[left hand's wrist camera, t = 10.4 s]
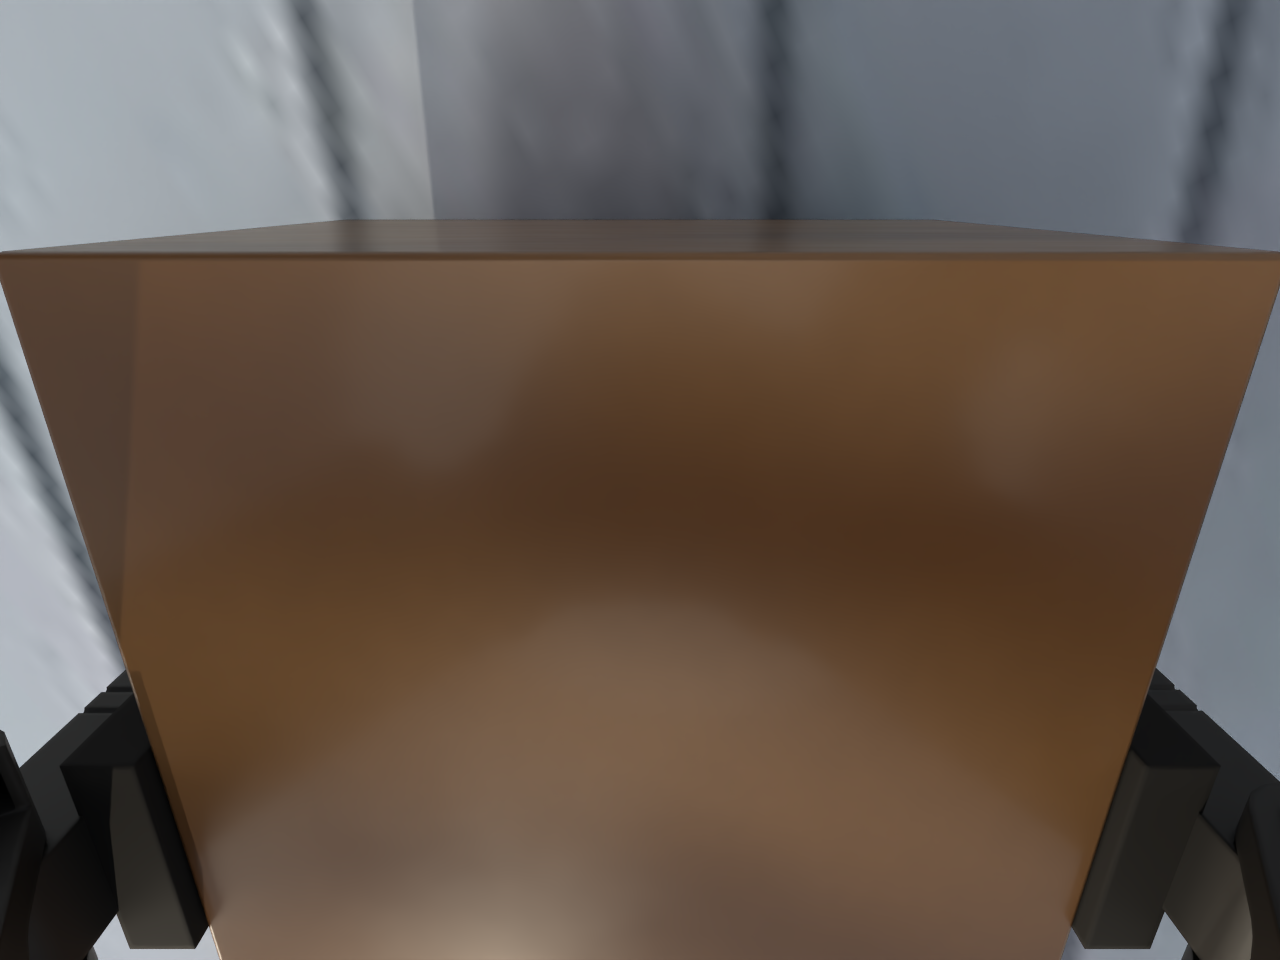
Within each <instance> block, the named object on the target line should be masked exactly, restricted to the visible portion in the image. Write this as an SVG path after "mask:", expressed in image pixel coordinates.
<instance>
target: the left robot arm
mask: <svg viewBox="0 0 1280 960" xmlns="http://www.w3.org/2000/svg"><path fill="white" fill-rule="evenodd" d="M1196 707H1197V705H1196V704H1195V703H1193V702H1192V701H1191V700H1190V699H1189V698H1188V697H1187V696H1186V695H1185V694H1184V693H1183V692H1182V691H1180V690H1175V688H1174V684H1173V683H1172V682H1171V681H1170V680H1168V679H1167V678H1166V677H1165V676H1164V675H1163V674H1162V673H1161V672H1160V671H1159V670H1158V669H1156V668H1155V671H1154V675H1153V678H1152V681H1151V684H1150V687H1149V690H1148V693H1147V696H1146V699H1145V702H1144V705H1143V708H1142V711H1141V715H1140V718H1139V721H1138V724H1137V727H1136V730H1135V733H1134V736H1133V739H1132V742H1131V745H1130V748H1129V751H1128V755H1127V758H1126V761H1125V764H1124V767H1123V770H1122V773H1121V776H1120V779H1119V782H1118V785H1117V788H1116V791H1115V795H1114V798H1113V801H1112V804H1111V807H1110V810H1109V813H1108V816H1107V819H1106V822H1105V825H1104V828H1103V831H1102V835H1101V838H1100V841H1099V844H1098V847H1097V850H1096V853H1095V856H1094V859H1093V862H1092V865H1091V868H1090V871H1089V875H1088V878H1087V881H1086V884H1085V887H1084V890H1083V893H1082V896H1081V899H1080V902H1079V905H1078V908H1077V911H1076V915H1075V918H1074V921H1073V924H1072V928H1073V930H1074V931H1075V933H1076V935H1077V936H1078V938H1079V940H1080V941H1081V943H1082V945H1083V947H1084V948H1085V949H1150V948H1151V945H1152V943H1153V940H1154V937H1155V935H1156V932H1157V930H1158V927H1159V924H1160V922H1161V919H1162V917H1163V914H1164V912H1166V914H1167V915H1168V916H1169V918H1170V919H1171V921H1172V922H1173V923H1174V925H1175V926H1176V927H1177V929H1178V930H1179V931H1180V933H1181V934H1182V936H1183V937H1184V938H1185V940H1186V941H1187V942H1188V945H1187V947H1186V950H1185V952H1184V955H1183V957H1182V959H1181V960H1280V782H1279V781H1278V780H1277V779H1276V778H1275V777H1274V776H1273V775H1272V774H1271V773H1270V772H1269V771H1267V770H1266V769H1265V768H1264V767H1263V766H1262V765H1261V764H1260V763H1259V762H1258V761H1257V760H1256V759H1254V758H1253V757H1252V756H1251V755H1250V754H1249V753H1248V752H1247V751H1246V750H1245V749H1244V748H1242V747H1241V746H1240V745H1239V744H1238V743H1237V742H1236V741H1235V740H1234V739H1233V738H1232V737H1230V736H1229V735H1228V734H1227V733H1226V732H1225V731H1224V730H1223V729H1222V728H1221V727H1220V726H1219V725H1217V724H1216V723H1215V722H1214V721H1213V720H1212V719H1211V718H1210V717H1209V716H1208V715H1207V714H1205V713H1204V712H1203V711H1198V710H1197V708H1196ZM84 709H85V710H84V713H78V714H77V715H76V716H75V717H74V718H73V719H72V720H71V721H70V722H69V723H68V724H67V725H65V726H64V727H63V728H62V729H61V730H60V731H59V732H58V733H57V734H56V735H55V736H54V737H52V738H51V739H50V740H49V741H48V742H47V743H46V744H45V745H44V746H43V747H42V748H41V749H40V750H38V751H37V752H36V753H35V754H34V755H33V756H32V757H31V758H30V759H29V760H28V761H27V762H25V763H24V764H23V765H22V766H21V767H20V768H19V767H18V764H17V762H16V759H15V757H14V754H13V752H12V750H11V747H10V745H9V742H8V740H7V738H6V735H5V733H4V732H3V731H1V730H0V960H98V957H97V955H96V952H95V950H94V947H93V945H94V944H95V943H96V941H97V940H98V938H99V937H100V936H101V934H102V933H103V932H104V930H105V929H106V927H107V926H108V925H109V923H110V922H111V921H112V919H113V918H114V916H115V915H116V914H117V916H118V919H119V921H120V924H121V927H122V929H123V932H124V934H125V937H126V940H127V942H128V945H129V947H130V949H195V948H196V947H197V945H198V943H199V942H200V940H201V938H202V937H203V935H204V933H205V931H206V930H207V928H208V926H209V924H208V921H207V918H206V915H205V912H204V909H203V906H202V903H201V900H200V897H199V893H198V890H197V887H196V884H195V881H194V878H193V875H192V872H191V869H190V866H189V863H188V859H187V856H186V853H185V850H184V847H183V844H182V841H181V838H180V835H179V832H178V829H177V825H176V822H175V819H174V816H173V813H172V810H171V807H170V804H169V801H168V798H167V795H166V791H165V788H164V785H163V782H162V779H161V776H160V773H159V770H158V767H157V764H156V761H155V757H154V754H153V751H152V748H151V745H150V742H149V739H148V736H147V733H146V730H145V727H144V724H143V720H142V717H141V714H140V711H139V708H138V705H137V702H136V699H135V696H134V693H133V690H132V686H131V683H130V680H129V677H128V674H127V671H126V670H125V671H124V672H123V673H122V674H121V675H120V676H118V677H117V678H116V679H115V680H114V681H113V682H112V683H111V684H110V685H109V686H108V687H107V691H106V692H101V693H100V694H99V695H98V696H97V697H96V698H95V699H94V700H92V701H91V702H90V703H89V704H88V705H87V706H86V707H85V708H84Z"/></svg>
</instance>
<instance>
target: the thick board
mask: <svg viewBox="0 0 1280 960" xmlns="http://www.w3.org/2000/svg"><path fill="white" fill-rule="evenodd" d="M0 282H1V285H2V288H3V291H4V294H5V297H6V300H7V303H8V306H9V309H10V313H11V316H12V319H13V322H14V325H15V328H16V331H17V334H18V337H19V340H20V343H21V347H22V350H23V353H24V356H25V359H26V362H27V365H28V368H29V371H30V374H31V377H32V381H33V384H34V387H35V390H36V393H37V396H38V399H39V402H40V405H41V408H42V411H43V415H44V418H45V421H46V424H47V427H48V430H49V433H50V436H51V439H52V442H53V445H54V449H55V452H56V455H57V458H58V461H59V464H60V467H61V470H62V473H63V476H64V479H65V483H66V486H67V489H68V492H69V495H70V498H71V501H72V504H73V507H74V510H75V513H76V516H77V520H78V523H79V526H80V529H81V532H82V535H83V538H84V541H85V544H86V547H87V550H88V554H89V557H90V560H91V563H92V566H93V569H94V572H95V575H96V578H97V581H98V584H99V588H100V591H101V594H102V597H103V600H104V603H105V606H106V609H107V612H108V615H109V618H110V622H111V625H112V628H113V631H114V634H115V637H116V640H117V643H118V646H119V649H120V652H121V656H122V659H123V662H124V665H125V668H126V671H127V674H128V677H129V680H130V683H131V686H132V690H133V693H134V696H135V699H136V702H137V705H138V708H139V711H140V714H141V717H142V720H143V724H144V727H145V730H146V733H147V736H148V739H149V742H150V745H151V748H152V751H153V754H154V757H155V761H156V764H157V767H158V770H159V773H160V776H161V779H162V782H163V785H164V788H165V791H166V795H167V798H168V801H169V804H170V807H171V810H172V813H173V816H174V819H175V822H176V825H177V829H178V832H179V835H180V838H181V841H182V844H183V847H184V850H185V853H186V856H187V859H188V863H189V866H190V869H191V872H192V875H193V878H194V881H195V884H196V887H197V890H198V893H199V897H200V900H201V903H202V906H203V909H204V912H205V915H206V918H207V921H208V924H209V927H210V931H211V934H212V937H213V940H214V943H215V946H216V949H217V952H218V955H219V958H220V960H1061V958H1062V955H1063V951H1064V948H1065V945H1066V942H1067V939H1068V936H1069V933H1070V930H1071V927H1072V924H1073V921H1074V918H1075V915H1076V911H1077V908H1078V905H1079V902H1080V899H1081V896H1082V893H1083V890H1084V887H1085V884H1086V881H1087V878H1088V875H1089V871H1090V868H1091V865H1092V862H1093V859H1094V856H1095V853H1096V850H1097V847H1098V844H1099V841H1100V838H1101V835H1102V831H1103V828H1104V825H1105V822H1106V819H1107V816H1108V813H1109V810H1110V807H1111V804H1112V801H1113V798H1114V795H1115V791H1116V788H1117V785H1118V782H1119V779H1120V776H1121V773H1122V770H1123V767H1124V764H1125V761H1126V758H1127V755H1128V751H1129V748H1130V745H1131V742H1132V739H1133V736H1134V733H1135V730H1136V727H1137V724H1138V721H1139V718H1140V715H1141V711H1142V708H1143V705H1144V702H1145V699H1146V696H1147V693H1148V690H1149V687H1150V684H1151V681H1152V678H1153V675H1154V671H1155V668H1156V665H1157V662H1158V659H1159V656H1160V653H1161V650H1162V647H1163V644H1164V641H1165V638H1166V635H1167V631H1168V628H1169V625H1170V622H1171V619H1172V616H1173V613H1174V610H1175V607H1176V604H1177V601H1178V598H1179V595H1180V591H1181V588H1182V585H1183V582H1184V579H1185V576H1186V573H1187V570H1188V567H1189V564H1190V561H1191V558H1192V555H1193V551H1194V548H1195V545H1196V542H1197V539H1198V536H1199V533H1200V530H1201V527H1202V524H1203V521H1204V518H1205V515H1206V511H1207V508H1208V505H1209V502H1210V499H1211V496H1212V493H1213V490H1214V487H1215V484H1216V481H1217V478H1218V475H1219V471H1220V468H1221V465H1222V462H1223V459H1224V456H1225V453H1226V450H1227V447H1228V444H1229V441H1230V438H1231V435H1232V431H1233V428H1234V425H1235V422H1236V419H1237V416H1238V413H1239V410H1240V407H1241V404H1242V401H1243V398H1244V395H1245V392H1246V388H1247V385H1248V382H1249V379H1250V376H1251V373H1252V370H1253V367H1254V364H1255V361H1256V358H1257V355H1258V352H1259V348H1260V345H1261V342H1262V339H1263V336H1264V333H1265V330H1266V327H1267V324H1268V321H1269V318H1270V315H1271V312H1272V308H1273V305H1274V302H1275V299H1276V296H1277V293H1278V290H1279V287H1280V252H1277V251H1266V250H1255V249H1244V248H1233V247H1223V246H1212V245H1201V244H1190V243H1179V242H1168V241H1158V240H1147V239H1136V238H1125V237H1114V236H1103V235H1093V234H1082V233H1071V232H1060V231H1049V230H1039V229H1028V228H1017V227H1006V226H995V225H984V224H974V223H963V222H952V221H941V220H337V221H327V222H316V223H305V224H294V225H283V226H273V227H262V228H251V229H240V230H229V231H219V232H208V233H197V234H186V235H175V236H164V237H154V238H143V239H132V240H121V241H110V242H100V243H89V244H78V245H67V246H56V247H46V248H35V249H24V250H13V251H2V252H1V253H0Z"/></svg>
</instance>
